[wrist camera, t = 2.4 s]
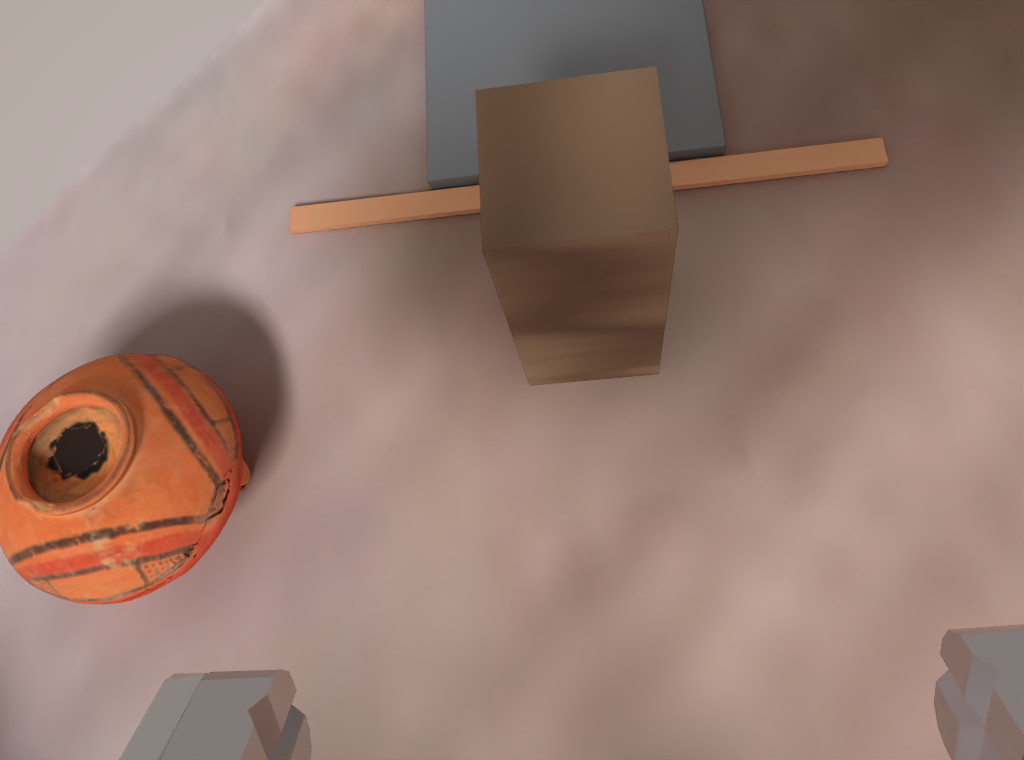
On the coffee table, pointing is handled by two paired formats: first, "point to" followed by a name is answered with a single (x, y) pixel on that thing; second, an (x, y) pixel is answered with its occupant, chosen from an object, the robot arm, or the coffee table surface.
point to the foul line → (682, 172)
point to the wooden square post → (579, 221)
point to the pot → (118, 478)
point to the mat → (563, 66)
